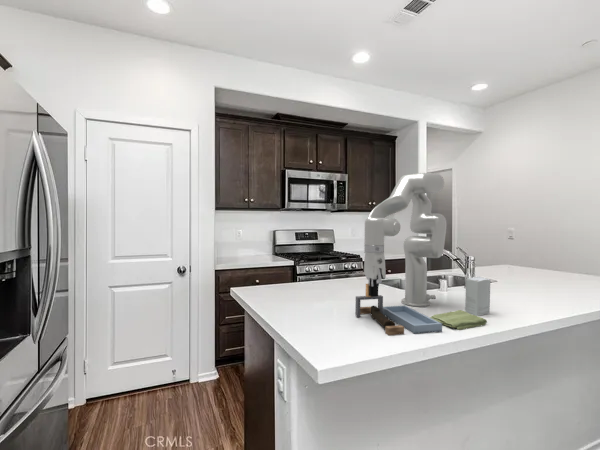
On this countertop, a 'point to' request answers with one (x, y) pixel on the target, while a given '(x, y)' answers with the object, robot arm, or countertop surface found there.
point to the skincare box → (477, 296)
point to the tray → (412, 319)
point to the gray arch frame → (367, 297)
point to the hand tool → (381, 317)
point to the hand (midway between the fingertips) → (373, 295)
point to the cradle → (388, 329)
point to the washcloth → (459, 320)
